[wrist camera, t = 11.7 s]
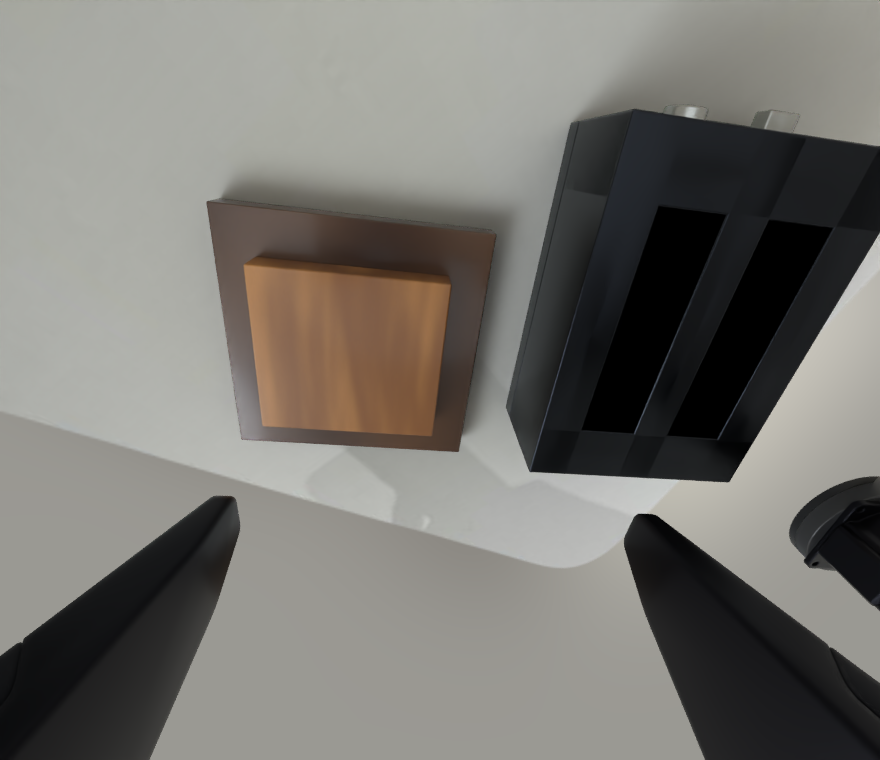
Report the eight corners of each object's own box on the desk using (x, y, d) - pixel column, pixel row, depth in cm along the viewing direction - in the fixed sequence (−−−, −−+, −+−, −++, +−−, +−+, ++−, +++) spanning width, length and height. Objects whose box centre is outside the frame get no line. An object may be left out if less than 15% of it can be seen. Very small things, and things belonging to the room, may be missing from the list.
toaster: (801, 127, 17) (951, 116, 12) (667, 418, 24) (729, 482, 20) (577, 93, 16) (645, 65, 11) (505, 407, 23) (529, 472, 19)
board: (492, 229, 19) (496, 234, 18) (456, 439, 24) (458, 452, 23) (218, 198, 17) (205, 201, 16) (249, 427, 23) (241, 439, 22)
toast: (452, 284, 17) (242, 263, 16) (432, 436, 21) (261, 427, 20) (449, 275, 18) (254, 256, 17) (431, 421, 22) (270, 411, 21)
